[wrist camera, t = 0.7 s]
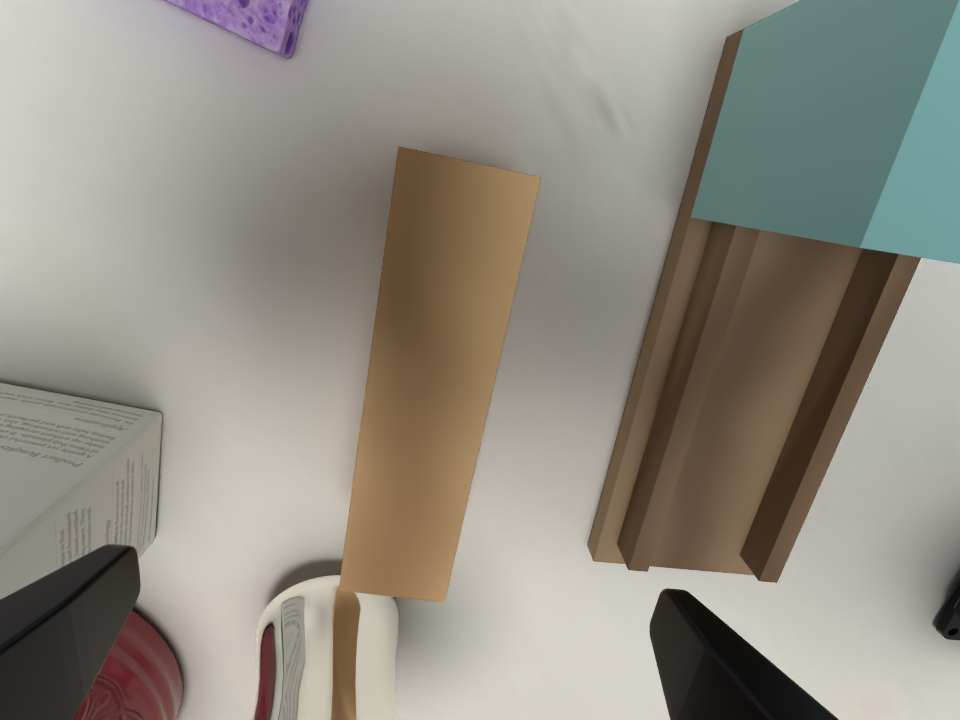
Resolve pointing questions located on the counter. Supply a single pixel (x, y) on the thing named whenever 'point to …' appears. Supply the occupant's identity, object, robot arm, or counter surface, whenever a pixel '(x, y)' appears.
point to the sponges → (253, 19)
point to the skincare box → (72, 480)
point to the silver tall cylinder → (326, 654)
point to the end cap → (844, 127)
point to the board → (740, 387)
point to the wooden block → (432, 367)
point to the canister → (135, 678)
